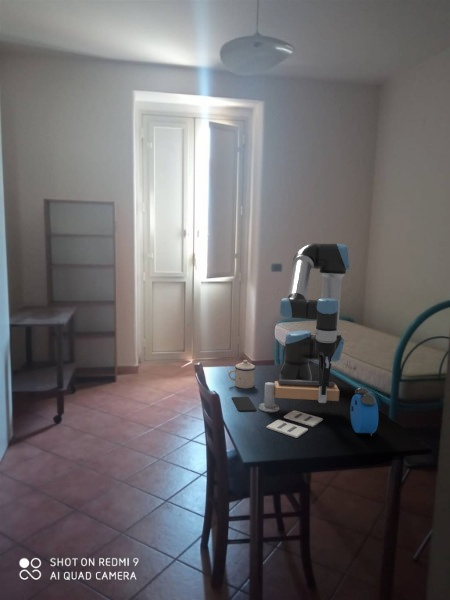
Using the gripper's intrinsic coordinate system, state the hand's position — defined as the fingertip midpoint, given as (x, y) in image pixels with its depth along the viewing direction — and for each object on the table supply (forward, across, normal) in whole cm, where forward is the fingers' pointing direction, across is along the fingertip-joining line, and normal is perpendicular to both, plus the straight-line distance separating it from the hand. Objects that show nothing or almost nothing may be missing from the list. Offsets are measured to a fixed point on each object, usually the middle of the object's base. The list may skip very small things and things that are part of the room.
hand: (322, 402), depth 167 cm
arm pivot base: (+6, -6, -20) cm, 21 cm away
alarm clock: (+6, +11, +12) cm, 18 cm away
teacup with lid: (+6, -32, -30) cm, 45 cm away
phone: (+6, -10, -29) cm, 32 cm away
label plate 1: (+6, +12, -14) cm, 20 cm away
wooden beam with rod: (+5, -6, -7) cm, 11 cm away
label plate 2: (+6, +2, -7) cm, 10 cm away
